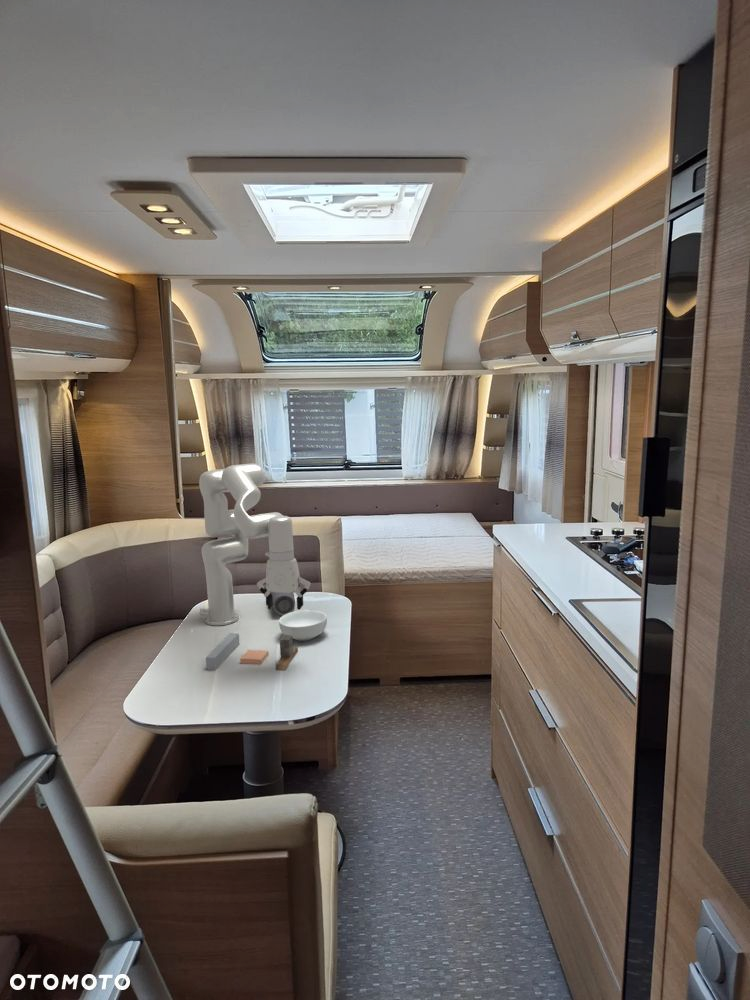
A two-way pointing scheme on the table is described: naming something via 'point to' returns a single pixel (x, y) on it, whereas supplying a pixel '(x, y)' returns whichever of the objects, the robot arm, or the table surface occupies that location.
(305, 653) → the table surface
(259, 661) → the tile
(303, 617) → the cereal bowl
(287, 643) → the scraper
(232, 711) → the table surface
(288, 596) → the bluetooth speaker
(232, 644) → the stop rail
